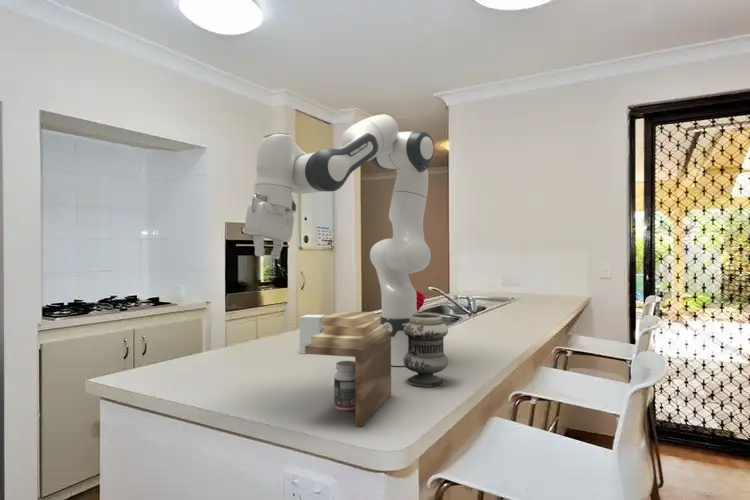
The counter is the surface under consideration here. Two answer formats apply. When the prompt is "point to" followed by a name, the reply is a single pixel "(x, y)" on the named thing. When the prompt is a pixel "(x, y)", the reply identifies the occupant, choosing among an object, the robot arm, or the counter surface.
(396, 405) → the counter surface
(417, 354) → the apothecary jar
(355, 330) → the offcut stack
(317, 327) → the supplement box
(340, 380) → the pill bottle
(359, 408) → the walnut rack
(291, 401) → the counter surface
